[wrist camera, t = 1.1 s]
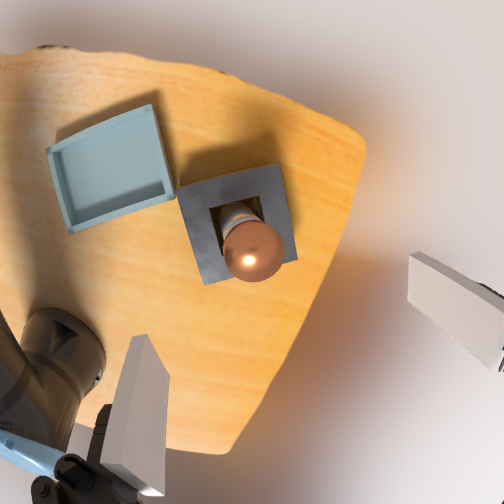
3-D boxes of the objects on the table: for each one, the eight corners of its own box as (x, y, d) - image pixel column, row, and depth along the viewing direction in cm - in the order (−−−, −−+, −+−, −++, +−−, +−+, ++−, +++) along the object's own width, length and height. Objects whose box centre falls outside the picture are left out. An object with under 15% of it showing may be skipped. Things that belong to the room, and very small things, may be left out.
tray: (77, 229, 30) (68, 235, 27) (55, 149, 26) (45, 149, 23) (177, 195, 31) (174, 198, 28) (154, 107, 27) (151, 103, 25)
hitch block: (204, 271, 34) (204, 285, 31) (178, 186, 30) (175, 189, 27) (287, 248, 35) (297, 259, 31) (270, 163, 31) (279, 163, 28)
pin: (221, 241, 33) (233, 288, 21) (212, 205, 32) (217, 233, 20) (258, 231, 34) (289, 272, 22) (250, 195, 32) (278, 217, 20)
